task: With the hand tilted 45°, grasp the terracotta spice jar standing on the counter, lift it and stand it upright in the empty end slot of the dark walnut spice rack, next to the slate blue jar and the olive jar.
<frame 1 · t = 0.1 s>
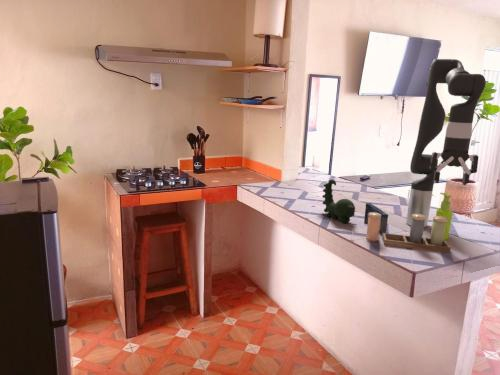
hand: (450, 183, 131), 29 cm above the table, tool pointing down, fingers open, 8 cm apart
toy figurine: (337, 219, 184), on the table
slate blue jar: (414, 244, 150), point 1 cm above the table, touching walnut spice rack
soap dispenser: (439, 240, 161), on the table
vhs cassette tape: (374, 230, 171), on the table
terracotta jar: (371, 242, 155), on the table
olive jar: (435, 247, 148), point 1 cm above the table, touching walnut spice rack
walnut spice rack: (414, 248, 150), on the table
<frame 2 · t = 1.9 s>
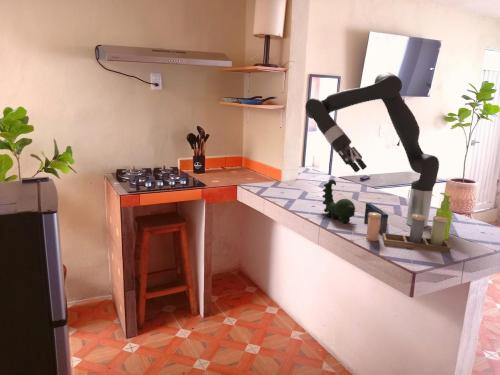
hand: (361, 169, 155), 29 cm above the table, tool tilted 45°, fingers open, 8 cm apart
nothing on the table moved.
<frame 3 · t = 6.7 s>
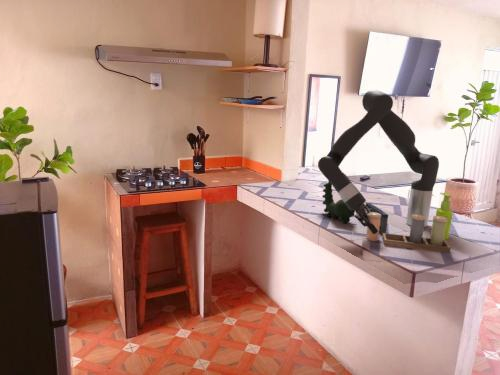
hand: (377, 230, 153), 5 cm above the table, tool tilted 45°, fingers closed on terracotta jar, 4 cm apart
terracotta jar: (371, 242, 155), on the table, touching gripper
everything else where it was.
when the fingers open (8 cm above the table, at t = 11.9 s): terracotta jar drops 1 cm, resting on walnut spice rack.
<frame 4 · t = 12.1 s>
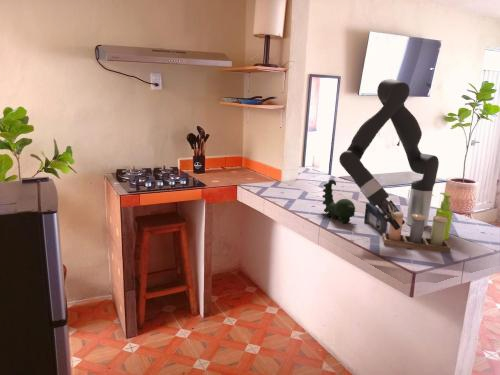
hand: (400, 226, 149), 9 cm above the table, tool tilted 45°, fingers open, 6 cm apart
terracotta jar: (393, 242, 152), point 2 cm above the table, touching walnut spice rack
everything else where it was.
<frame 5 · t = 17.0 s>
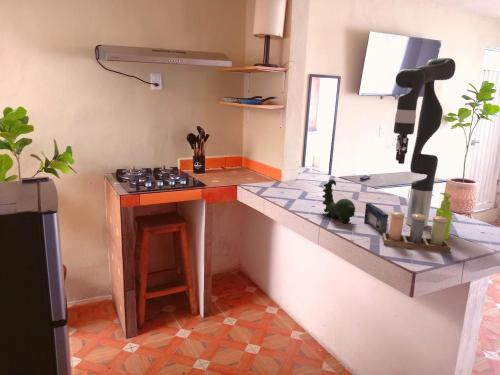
hand: (399, 162, 155), 32 cm above the table, tool pointing down, fingers open, 8 cm apart
nothing on the table moved.
at the end: terracotta jar 0.1 cm from the target spot on the walnut spice rack, point 1.5 cm above the walnut spice rack's base; terracotta jar tilted 0°; the gripper is holding nothing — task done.
